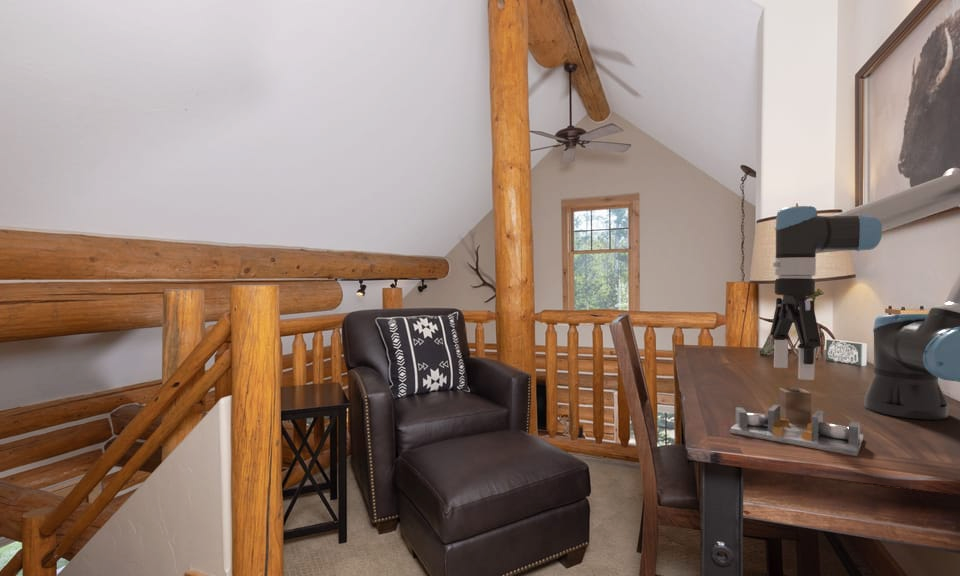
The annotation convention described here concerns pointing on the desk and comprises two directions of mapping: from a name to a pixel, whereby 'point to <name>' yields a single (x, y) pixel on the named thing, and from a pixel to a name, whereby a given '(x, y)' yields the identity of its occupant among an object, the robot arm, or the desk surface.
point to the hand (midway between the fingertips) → (792, 373)
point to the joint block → (795, 405)
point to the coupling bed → (807, 433)
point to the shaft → (750, 419)
